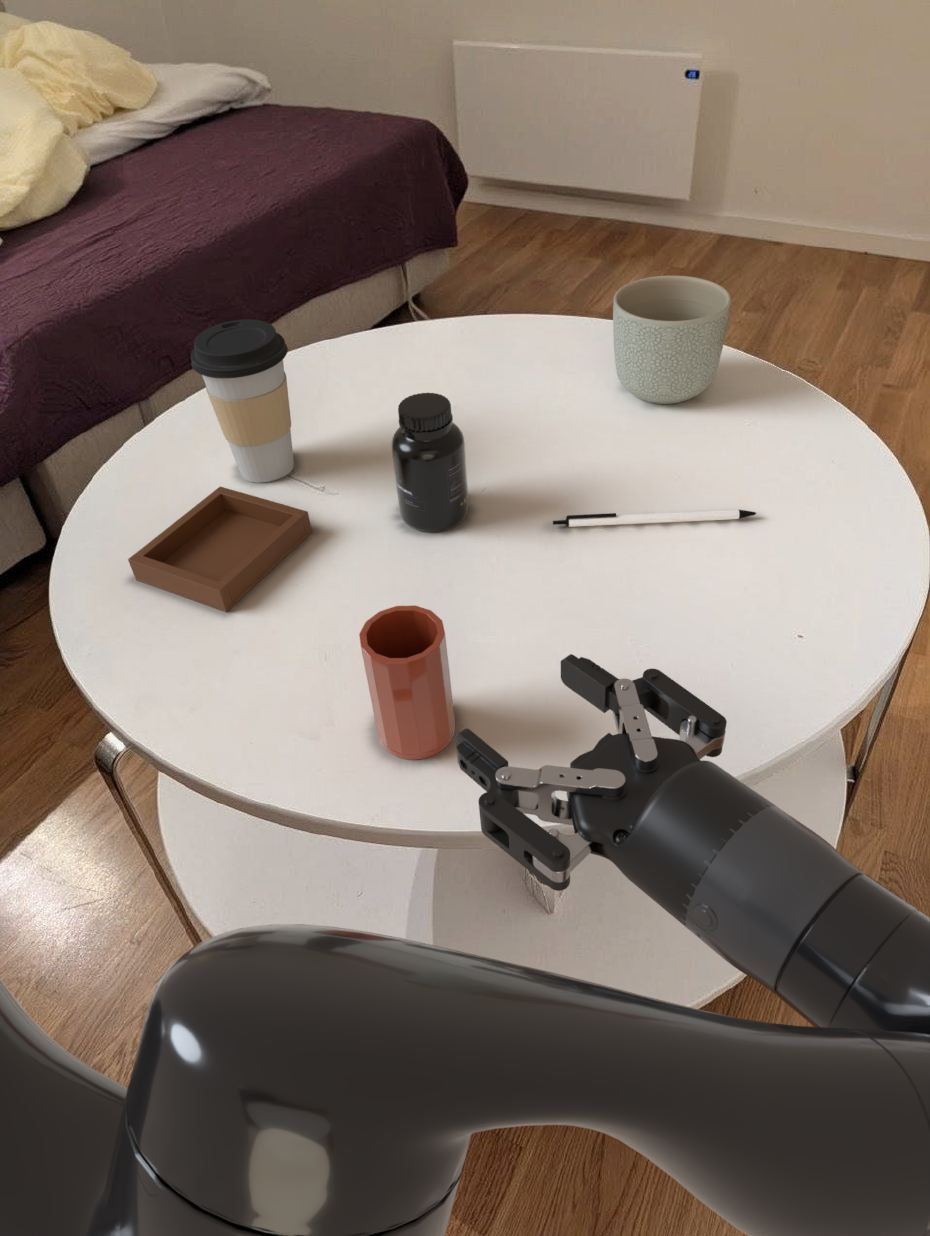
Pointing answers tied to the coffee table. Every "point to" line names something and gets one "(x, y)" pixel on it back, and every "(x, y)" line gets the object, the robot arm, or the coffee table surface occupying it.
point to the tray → (221, 548)
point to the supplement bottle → (429, 464)
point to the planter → (669, 336)
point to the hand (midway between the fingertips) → (514, 702)
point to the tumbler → (409, 681)
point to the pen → (651, 517)
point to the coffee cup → (249, 394)
